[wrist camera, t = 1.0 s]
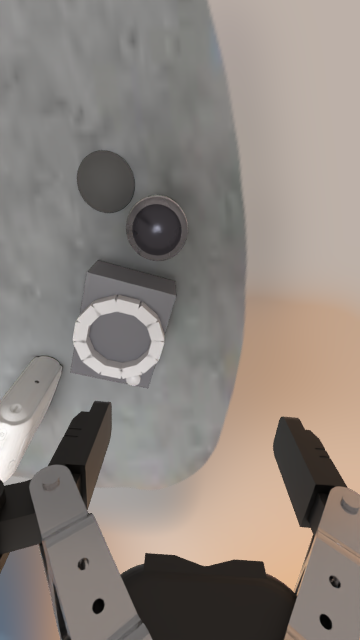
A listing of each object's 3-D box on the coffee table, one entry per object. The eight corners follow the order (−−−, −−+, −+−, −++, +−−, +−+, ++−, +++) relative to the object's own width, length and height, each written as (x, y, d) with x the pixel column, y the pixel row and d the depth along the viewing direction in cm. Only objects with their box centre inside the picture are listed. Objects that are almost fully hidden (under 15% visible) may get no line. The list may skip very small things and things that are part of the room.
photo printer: (34, 349, 37) (-24, 421, 25) (67, 361, 37) (25, 436, 26) (15, 407, 40) (-43, 492, 29) (46, 416, 41) (1, 502, 30)
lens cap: (75, 203, 30) (73, 203, 29) (83, 143, 28) (81, 142, 27) (128, 218, 31) (127, 219, 30) (140, 162, 29) (139, 161, 28)
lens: (130, 237, 31) (118, 253, 24) (140, 187, 29) (132, 186, 22) (175, 250, 32) (178, 269, 25) (189, 202, 30) (197, 207, 23)
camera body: (81, 349, 37) (66, 378, 31) (97, 260, 32) (83, 275, 26) (150, 364, 38) (148, 395, 33) (175, 281, 34) (177, 299, 28)
